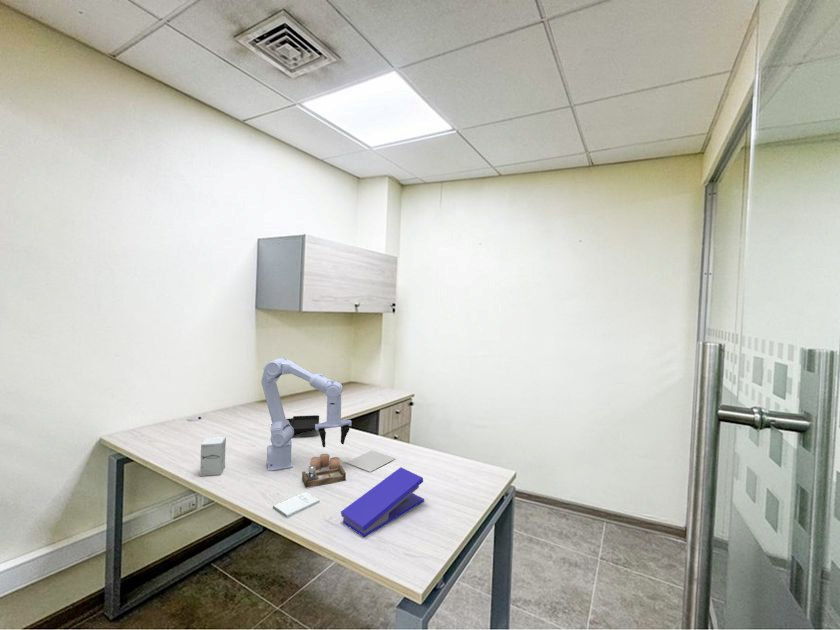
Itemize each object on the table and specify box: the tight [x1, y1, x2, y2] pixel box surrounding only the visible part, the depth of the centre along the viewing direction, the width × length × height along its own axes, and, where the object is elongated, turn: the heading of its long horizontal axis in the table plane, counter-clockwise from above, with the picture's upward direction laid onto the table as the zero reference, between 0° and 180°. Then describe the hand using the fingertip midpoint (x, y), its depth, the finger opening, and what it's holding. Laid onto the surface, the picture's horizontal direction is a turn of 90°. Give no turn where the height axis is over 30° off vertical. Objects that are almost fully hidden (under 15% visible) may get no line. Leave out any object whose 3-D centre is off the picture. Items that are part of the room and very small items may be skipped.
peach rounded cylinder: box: [318, 453, 330, 468], centre depth 156 cm, size 4×4×4 cm
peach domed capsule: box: [310, 456, 321, 472], centre depth 152 cm, size 4×4×4 cm
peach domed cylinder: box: [328, 456, 340, 470], centre depth 152 cm, size 4×4×4 cm
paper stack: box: [345, 449, 397, 473], centre depth 155 cm, size 23×25×1 cm
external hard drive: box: [272, 491, 321, 519], centre depth 125 cm, size 2×8×12 cm
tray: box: [270, 414, 320, 437], centre depth 195 cm, size 30×23×5 cm
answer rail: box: [301, 464, 347, 489], centre depth 143 cm, size 15×7×3 cm, turn 117°
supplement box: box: [199, 436, 227, 477], centre depth 146 cm, size 7×7×13 cm
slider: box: [305, 465, 318, 481], centre depth 140 cm, size 3×5×5 cm, turn 27°
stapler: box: [340, 466, 425, 538], centre depth 123 cm, size 12×28×10 cm, turn 139°
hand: (333, 444), depth 153 cm, fingers open, 7 cm apart
